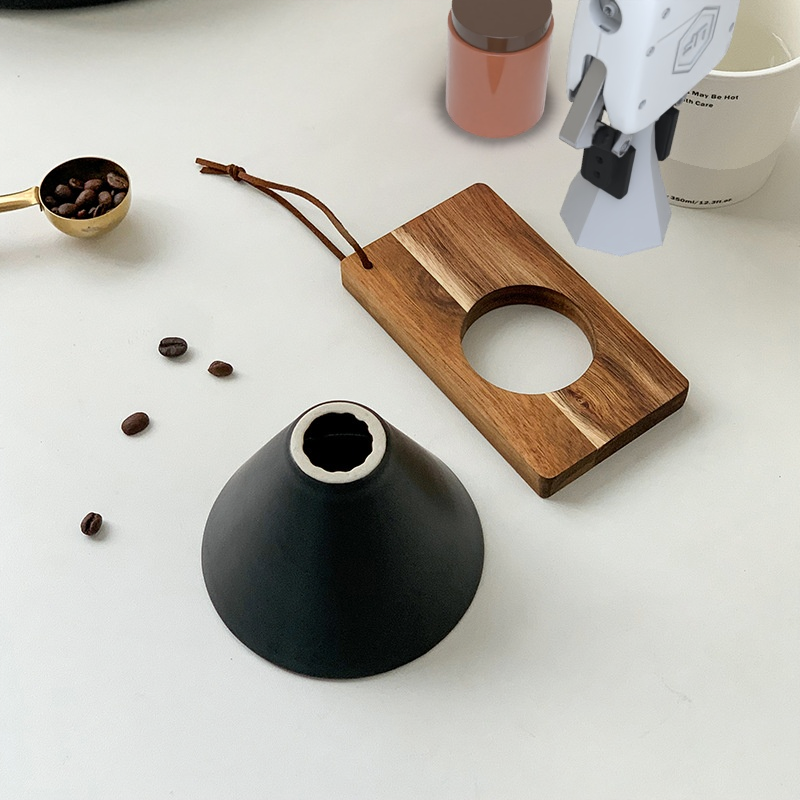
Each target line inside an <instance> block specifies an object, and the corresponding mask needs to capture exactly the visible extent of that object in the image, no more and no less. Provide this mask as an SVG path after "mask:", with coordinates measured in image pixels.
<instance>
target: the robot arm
mask: <svg viewBox="0 0 800 800" xmlns="http://www.w3.org/2000/svg"><path fill="white" fill-rule="evenodd" d="M740 3H741V0H578V1H577V4H576V5H577V6H576V11H575V15H574V21H573V24H572V25H573V26H572V30H571V36H570V42H569V49H568V56H567V63H566V64H567V65H566V74H565V88H566V89H565V90H566V96H567V99H568V101H569V103H572V104H571V106H570V107H569V110H568V113H567V114H566V117H565V120H564V122H563V124H562V126H561V128H560V131H559V134H558V139H559V140H560V141H561V142H563V143H565V144H567V145H568V146H570V147H572V148H573V149H575V150H578V151H579V150H582V149H583V152H582V159H581V166H580V169H581V175H582V177H583V178H584V179H585V180H587V181H589V182H590V183H591V184H593V185H594V186H596V187H598V188H600V189H602V190H603V191H605V192H607V193H608V194H610V195H611V196H613V197H615V198H616V199H619V200H620V199H622V198H623V197H624V196H625V195H626V194H627V193H628V188H629V183H630V178H631V173H632V168H633V163H634V158H635V153H636V149H635V148H634V147H633V146H632V145H630V144H631V141H632V138H633V134H634V133H636V132H638V131H641V130H643V129H644V128H646V127H647V126H649V125H650V124H651V123H653V122H654V121H655V120H656V119H657V118H659V117H660V118H659V119H658V120H657V121H655V150H656V154H657V158H658V162H664V161H665V160H667V158H668V157H669V156H670V155H671V150H672V147H673V142H674V137H675V133H676V129H677V125H678V120H679V116H680V109H678V107H680V106H681V105H682V104H683V103H684V102H685V100H686V98H687V97H688V94H689V91H690V90H692V89H693V88H694V87H695V86H696V85H698V84H699V83H700V82H701V81H702V80H703V79H704V78H705V77H706V76H708V75H709V73H711V72H712V71H713V70H714V69H715V68H716V67H717V66H718V65H719V64H720V63H721V61H722V60H723V59H724V58H725V56H726V55H727V52H728V51H729V50H730V46H731V43H732V39H733V36H734V31H735V26H736V22H737V18H738V15H739V14H738V13H739V8H740V5H741V4H740ZM676 107H677V108H676ZM605 112H606V113H607V118H608V120H609V124H607V123H605V122H603V116H604V113H605ZM610 123H611V125H612V127H614V128H616V129H617V130H616V129H614V128H612V127H611V126H609V125H610Z"/></svg>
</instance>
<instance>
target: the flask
mask: <svg viewBox="0 0 800 800" xmlns="http://www.w3.org/2000/svg"><path fill="white" fill-rule="evenodd" d="M659 118H660V117H659ZM659 118H657V119H656V120H655V121H657V120H658V119H659ZM655 121H654V122H653V123H651V124H650V125H649V126H647V127H646V128H644V129H643V130H641V131H638V132H636V133H634V134H633V138H632V141H631V144H630V145H632V146H633V147H634V148H635V149H636V153H635V158H634V163H633V168H632V173H631V178H630V183H629V188H628V193H627V194H626V195H625V196H624V197H623V198H622V199H620V200H619V199H616V198H615V197H613V196H611V195H610V194H608V193H607V192H605V191H603V190H602V189H600V188H598V187H596V186H594V185H593V184H591V183H590V182H589V181H587V180H585V179H584V178H583V177H582V175H581V168H580V169H579V171H577V173H576V174H575V176H574V178H573V179H572V180H571V182H570V183H569V185H568V189H567V192H566V194H565V197H564V200H563V203H562V205H561V208H560V211H559V216H560V218H561V220H562V222H563V223H564V226H565V227H566V229H567V231H568V233H569V235H570V237H571V238H572V240H573V242H574V244H575V246H576V247H579V248H583V249H588V250H591V251H596V252H599V253H605V254H608V255H612V256H616V257H624V256H628V255H632V254H635V253H639V252H643V251H646V250H650V249H655V248H659V247H662V246H663V244H664V241H665V237H666V234H667V230H668V227H669V225H670V221H671V217H672V214H673V213H672V212H673V211H672V208H671V205H670V204H671V203H670V201H669V197H668V194H667V191H666V186H665V184H664V183H665V182H664V180H663V176H662V171H661V168H660V163H659V161H658V158H657V154H656V150H655ZM608 125H609V126H611V127H612V125H611V123H610V122H609V124H608ZM612 128H614V127H612ZM614 129H616V128H614ZM616 130H617V129H616Z"/></svg>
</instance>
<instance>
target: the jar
mask: <svg viewBox="0 0 800 800" xmlns="http://www.w3.org/2000/svg"><path fill="white" fill-rule="evenodd" d="M554 27H555V19H554V14H553V1H552V0H451V7H450V9H449V12H448V15H447V31H446V68H445V69H446V70H445V73H446V74H445V109H446V112H447V114H448V116H449V118H450V119H451V120H452V122H453V123H454V124H455V125H456V126H457V127H459V128H460V129H462V130H464V131H465V132H467V133H469V134H471V135H474V136H476V137H477V136H478V137H482V138H487V139H506V138H511V137H514V136H519V135H521V134H523V133H525V132H528V131H529V130H530V129H533V127H535V125H537V124H538V123H539V122H540V120H541V119H542V117H543V114H544V112H545V107H546V98H547V88H548V81H549V72H550V64H551V63H550V62H551V55H552V47H553V37H554V29H555V28H554Z"/></svg>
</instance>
